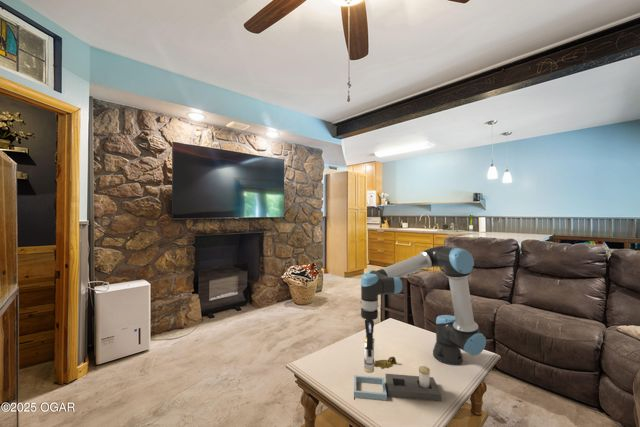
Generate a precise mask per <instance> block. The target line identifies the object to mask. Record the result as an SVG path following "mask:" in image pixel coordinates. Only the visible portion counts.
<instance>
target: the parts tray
mask: <svg viewBox="0 0 640 427" xmlns="http://www.w3.org/2000/svg"><path fill="white" fill-rule="evenodd" d="M353 377H354V378H353V400H354V401H355V400H356V399H367V400H377V401H387V399H388V397H387V396H388V392H387V386H386V380H385V378H384V377H378V376H366V375H353ZM357 383H366V384H379V385H381V387H382V392H377V391H364V390H357Z"/></svg>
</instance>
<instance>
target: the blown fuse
mask: <svg viewBox="0 0 640 427" xmlns="http://www.w3.org/2000/svg"><path fill="white" fill-rule="evenodd" d="M363 342H364V343H363V344H364V346H363V347H364V348H363V349H364V350H363V352H364V353H363V354H364V355H363V363H364V366H363V370H364V372H366V373H368V374H371V373H374V372H375V367H374V362H375V338H374V337H373V364H371V363H366V349H365V347H367V337H366V336H365V337H364V338H363Z"/></svg>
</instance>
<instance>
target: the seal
mask: <svg viewBox="0 0 640 427" xmlns="http://www.w3.org/2000/svg"><path fill="white" fill-rule="evenodd" d="M397 363H398V362H397V360H396V357H395V356H389V358H388V359H378V360H374V368H380V369H381V370H383V369H389V368H391V367H393V366H394V365H397Z"/></svg>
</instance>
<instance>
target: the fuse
mask: <svg viewBox="0 0 640 427" xmlns="http://www.w3.org/2000/svg"><path fill="white" fill-rule="evenodd" d="M430 373H431V369H430V368H429V367H427V366H426V365H420V366H418V376H419V388H427V389H430V377H431V376H430Z"/></svg>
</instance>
